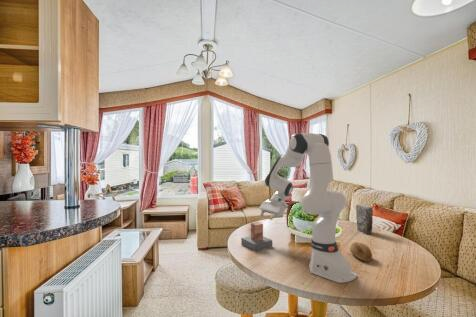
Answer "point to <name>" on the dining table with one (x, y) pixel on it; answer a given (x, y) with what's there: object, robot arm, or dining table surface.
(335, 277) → the robot arm
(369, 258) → the bread roll
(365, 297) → the dining table surface
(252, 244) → the base block
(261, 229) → the terracotta block
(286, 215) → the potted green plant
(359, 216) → the stone block
